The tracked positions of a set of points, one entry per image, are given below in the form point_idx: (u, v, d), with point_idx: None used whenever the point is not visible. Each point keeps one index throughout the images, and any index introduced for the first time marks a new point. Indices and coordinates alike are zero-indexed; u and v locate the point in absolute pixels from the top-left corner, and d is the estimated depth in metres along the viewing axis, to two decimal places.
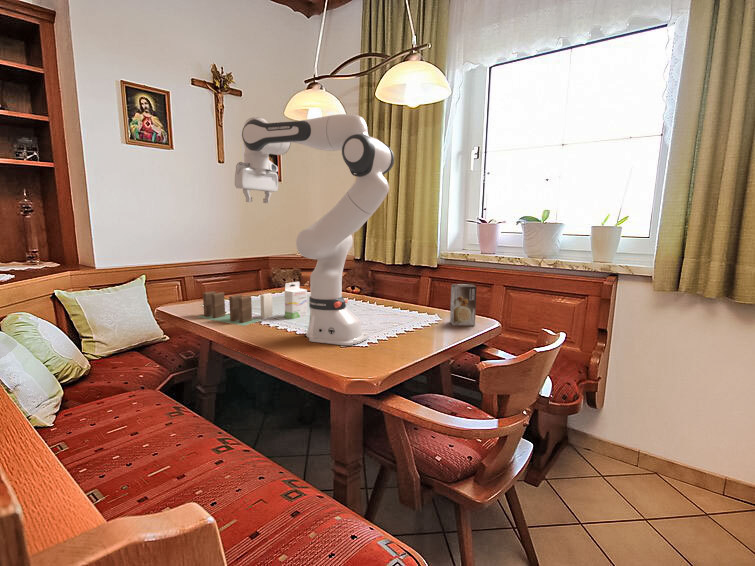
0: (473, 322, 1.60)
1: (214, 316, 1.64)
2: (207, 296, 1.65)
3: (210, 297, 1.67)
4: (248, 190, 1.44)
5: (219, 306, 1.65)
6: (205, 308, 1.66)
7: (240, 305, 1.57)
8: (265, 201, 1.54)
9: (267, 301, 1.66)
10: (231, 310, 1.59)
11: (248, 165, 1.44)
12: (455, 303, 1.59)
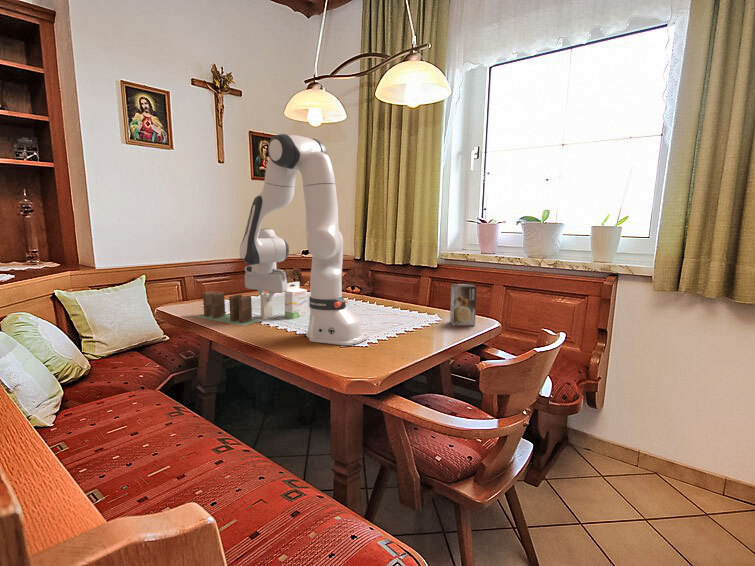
0: (473, 322, 1.60)
1: (214, 316, 1.64)
2: (207, 296, 1.65)
3: (210, 297, 1.67)
4: None
5: (219, 306, 1.65)
6: (205, 308, 1.66)
7: (240, 305, 1.57)
8: None
9: (267, 301, 1.66)
10: (231, 310, 1.59)
11: None
12: (455, 303, 1.59)
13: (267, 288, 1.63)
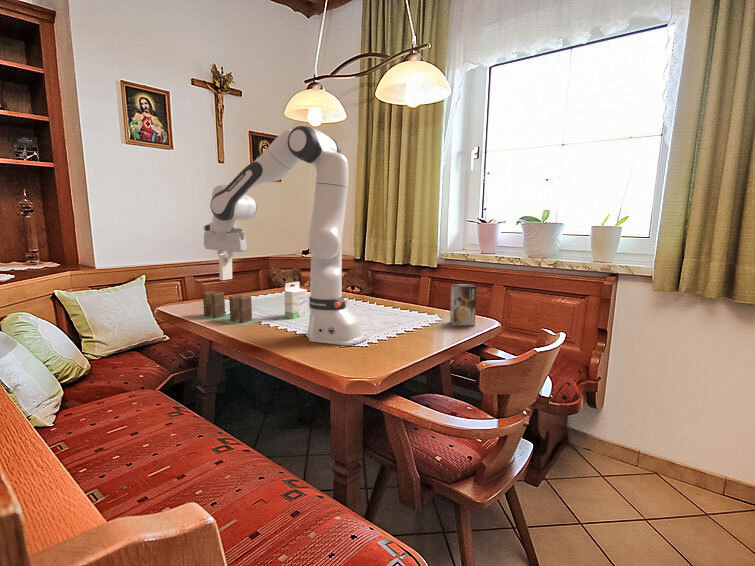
0: (473, 322, 1.60)
1: (214, 316, 1.64)
2: (207, 296, 1.65)
3: (210, 297, 1.67)
4: None
5: (219, 306, 1.65)
6: (205, 308, 1.66)
7: (240, 305, 1.57)
8: None
9: (226, 262, 1.60)
10: (231, 310, 1.59)
11: None
12: (455, 303, 1.59)
13: (225, 247, 1.57)
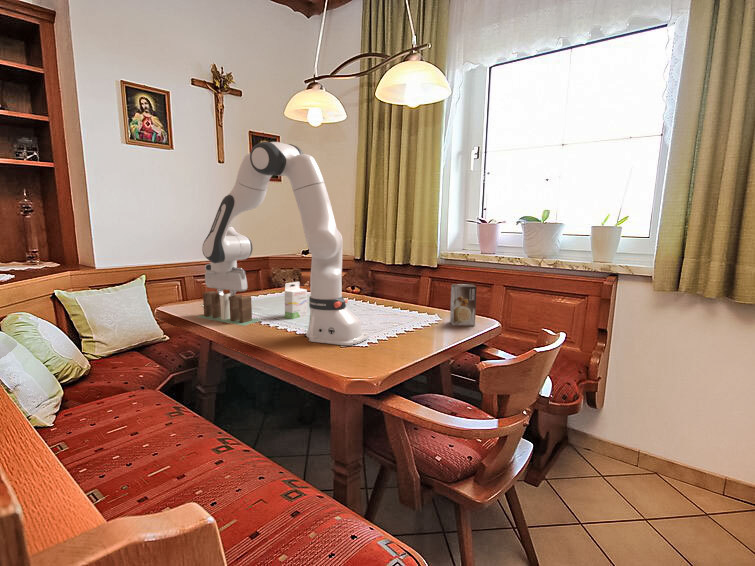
0: (473, 322, 1.60)
1: (214, 316, 1.64)
2: (207, 296, 1.65)
3: (210, 297, 1.67)
4: None
5: (219, 306, 1.65)
6: (205, 308, 1.66)
7: (240, 305, 1.57)
8: None
9: (227, 301, 1.62)
10: (231, 310, 1.59)
11: None
12: (455, 303, 1.59)
13: (226, 286, 1.60)
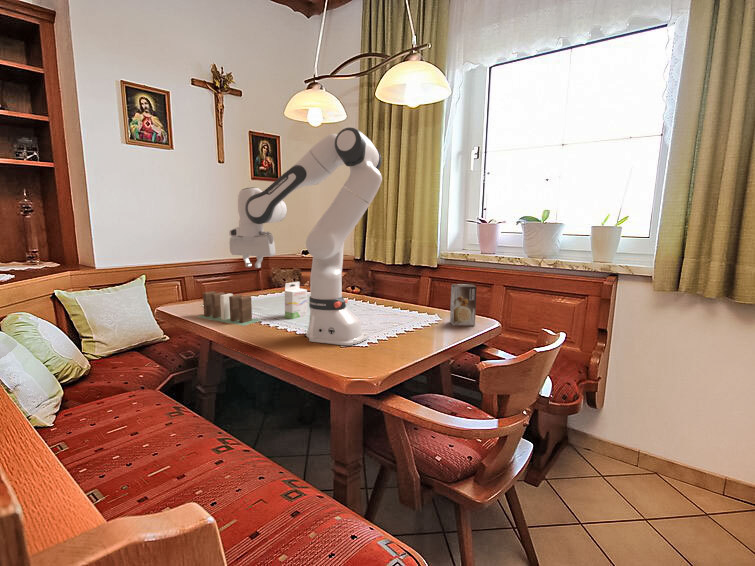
0: (473, 322, 1.60)
1: (214, 316, 1.64)
2: (207, 296, 1.65)
3: (210, 297, 1.67)
4: None
5: (219, 306, 1.65)
6: (205, 308, 1.66)
7: (240, 305, 1.57)
8: (250, 265, 1.55)
9: (227, 301, 1.62)
10: (231, 310, 1.59)
11: None
12: (455, 303, 1.59)
13: (253, 252, 1.51)
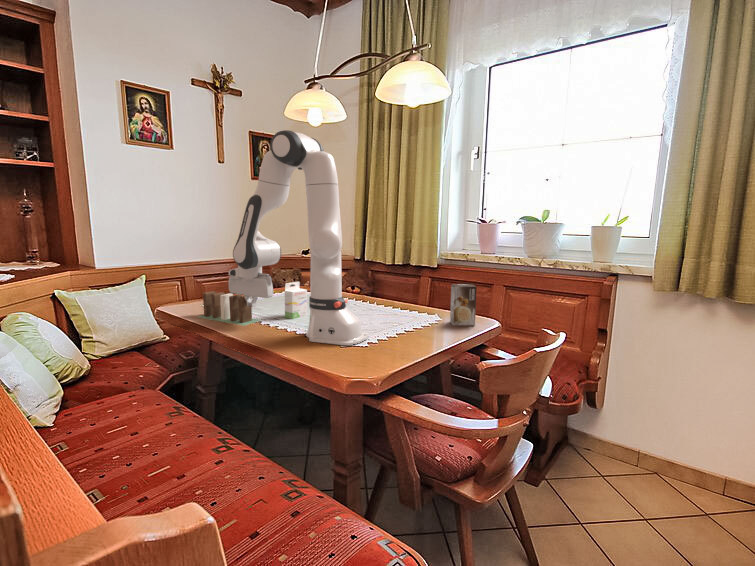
0: (473, 322, 1.60)
1: (214, 316, 1.64)
2: (207, 296, 1.65)
3: (210, 297, 1.67)
4: None
5: (219, 306, 1.65)
6: (205, 308, 1.66)
7: (240, 305, 1.57)
8: None
9: (227, 301, 1.62)
10: (231, 310, 1.59)
11: None
12: (455, 303, 1.59)
13: (251, 293, 1.54)
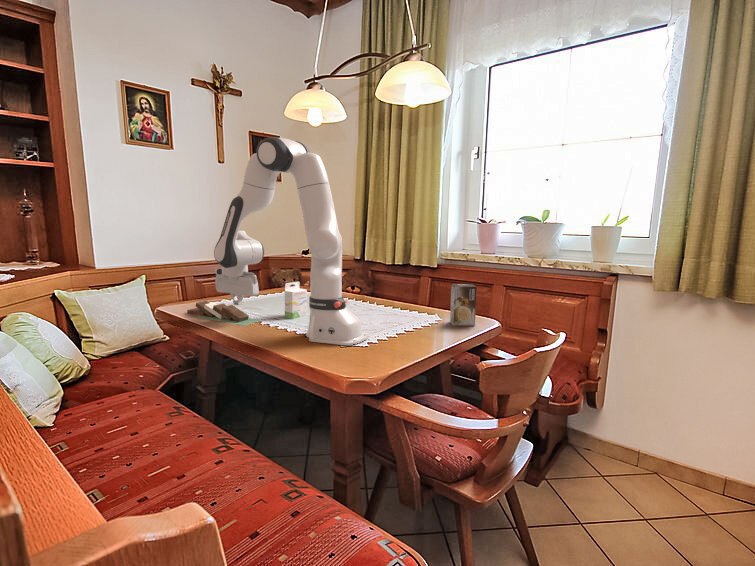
0: (473, 322, 1.60)
1: (210, 314, 1.65)
2: (190, 309, 1.71)
3: (194, 309, 1.72)
4: None
5: None
6: (197, 312, 1.68)
7: (226, 312, 1.61)
8: None
9: None
10: (222, 313, 1.62)
11: None
12: (455, 303, 1.59)
13: (237, 291, 1.57)
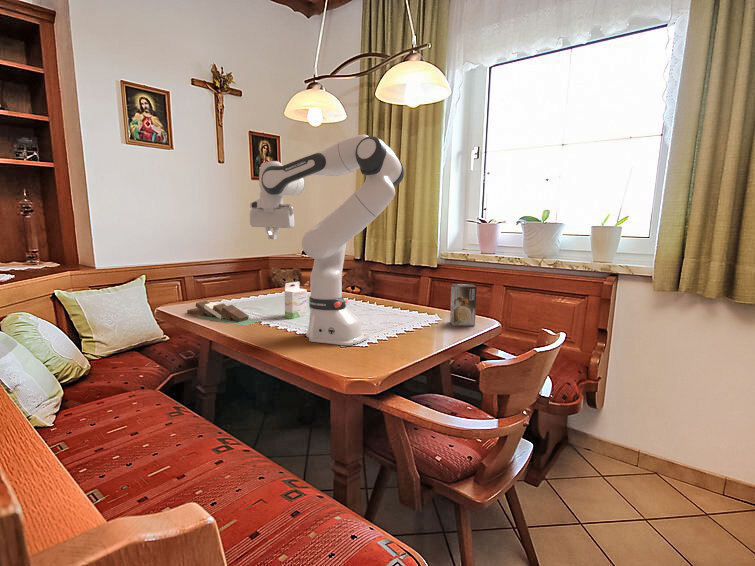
0: (473, 322, 1.60)
1: (210, 314, 1.65)
2: (190, 309, 1.71)
3: (194, 309, 1.72)
4: None
5: None
6: (197, 312, 1.68)
7: (226, 312, 1.61)
8: None
9: None
10: (222, 313, 1.62)
11: None
12: (455, 303, 1.59)
13: (273, 224, 1.56)
